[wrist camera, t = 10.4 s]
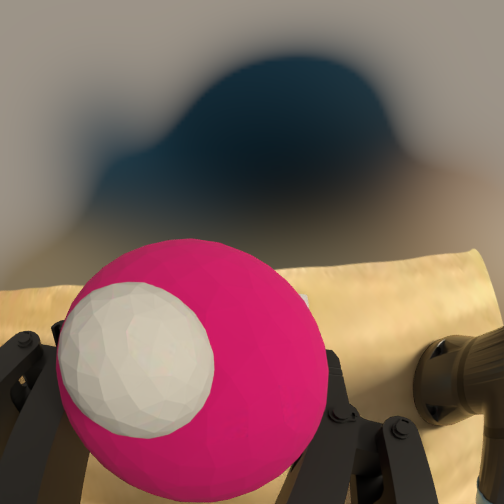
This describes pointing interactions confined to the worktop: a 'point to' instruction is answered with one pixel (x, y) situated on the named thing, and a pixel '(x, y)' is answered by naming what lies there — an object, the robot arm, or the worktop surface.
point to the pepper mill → (192, 370)
